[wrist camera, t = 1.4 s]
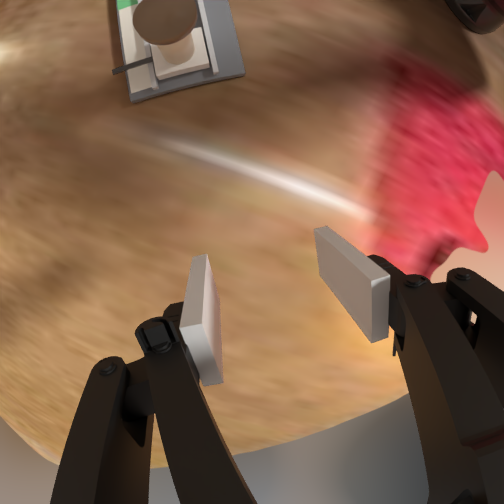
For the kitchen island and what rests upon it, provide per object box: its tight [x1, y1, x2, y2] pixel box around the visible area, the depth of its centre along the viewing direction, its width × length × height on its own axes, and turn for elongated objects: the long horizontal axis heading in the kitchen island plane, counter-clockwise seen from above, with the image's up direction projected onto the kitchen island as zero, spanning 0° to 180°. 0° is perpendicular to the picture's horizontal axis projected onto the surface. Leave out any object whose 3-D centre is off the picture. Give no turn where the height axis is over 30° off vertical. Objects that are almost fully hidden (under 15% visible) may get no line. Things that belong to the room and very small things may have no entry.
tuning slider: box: [112, 0, 209, 80], centre depth 23 cm, size 11×5×13 cm, turn 102°
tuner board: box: [116, 0, 245, 103], centre depth 26 cm, size 14×26×3 cm, turn 12°
